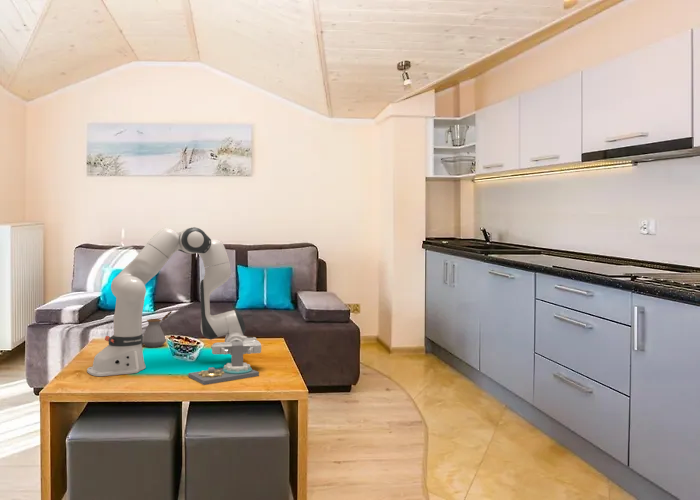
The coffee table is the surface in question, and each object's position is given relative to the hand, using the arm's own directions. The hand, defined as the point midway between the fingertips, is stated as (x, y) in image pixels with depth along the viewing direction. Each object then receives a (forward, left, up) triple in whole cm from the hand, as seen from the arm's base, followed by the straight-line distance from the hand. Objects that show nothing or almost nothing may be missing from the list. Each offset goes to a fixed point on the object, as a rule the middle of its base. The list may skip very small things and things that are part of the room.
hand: (237, 352), depth 247 cm
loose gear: (0, +1, -7) cm, 7 cm away
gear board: (-6, +1, -9) cm, 11 cm away
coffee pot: (-3, +74, -9) cm, 74 cm away
